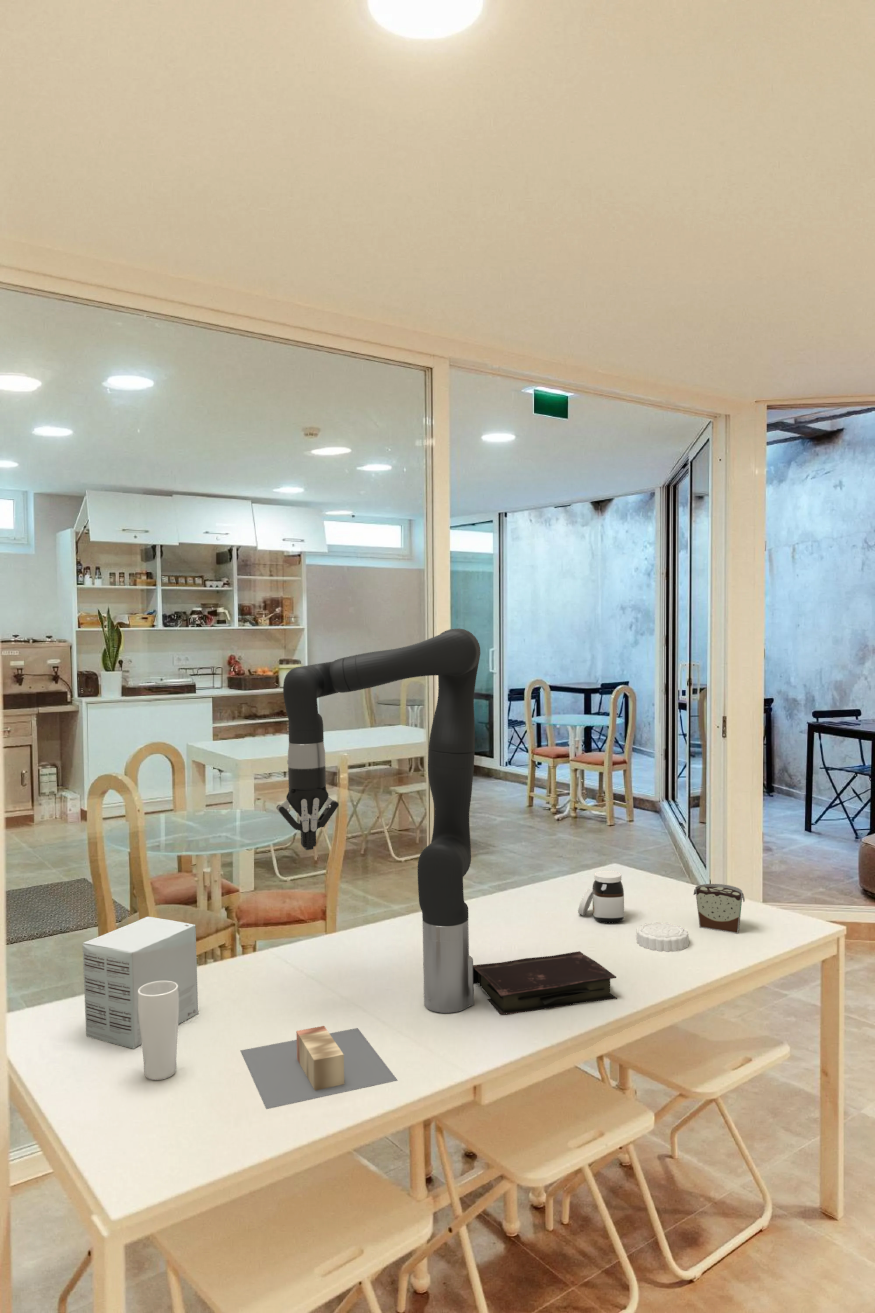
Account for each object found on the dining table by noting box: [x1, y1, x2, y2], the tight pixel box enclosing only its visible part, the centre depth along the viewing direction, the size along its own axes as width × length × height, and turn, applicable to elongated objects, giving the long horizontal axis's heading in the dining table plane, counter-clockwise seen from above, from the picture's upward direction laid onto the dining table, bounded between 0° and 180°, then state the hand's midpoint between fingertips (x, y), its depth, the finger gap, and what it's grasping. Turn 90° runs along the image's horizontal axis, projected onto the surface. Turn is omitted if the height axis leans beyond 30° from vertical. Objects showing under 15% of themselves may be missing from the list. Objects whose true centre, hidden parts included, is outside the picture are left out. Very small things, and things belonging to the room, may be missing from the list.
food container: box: [693, 883, 746, 934], centre depth 229 cm, size 12×6×10 cm, turn 58°
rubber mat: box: [240, 1027, 398, 1110], centre depth 160 cm, size 22×22×1 cm
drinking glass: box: [138, 981, 179, 1081], centre depth 159 cm, size 7×7×15 cm
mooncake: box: [635, 922, 689, 953], centre depth 219 cm, size 12×12×4 cm
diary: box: [473, 950, 618, 1016], centre depth 192 cm, size 19×25×5 cm
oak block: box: [295, 1025, 344, 1090], centre depth 158 cm, size 5×5×12 cm
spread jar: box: [577, 870, 625, 924], centre depth 238 cm, size 12×11×12 cm
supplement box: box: [82, 916, 199, 1050], centre depth 179 cm, size 17×13×18 cm
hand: (308, 849), depth 189 cm, fingers closed
